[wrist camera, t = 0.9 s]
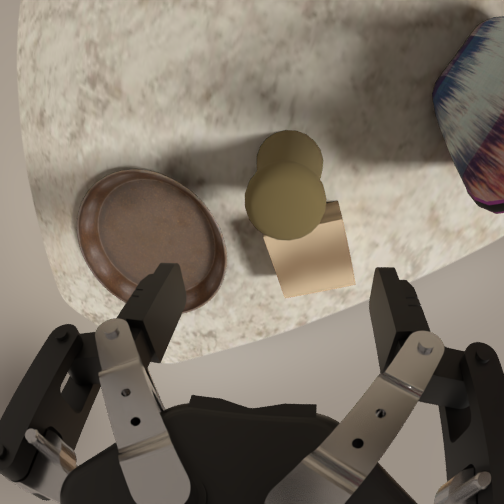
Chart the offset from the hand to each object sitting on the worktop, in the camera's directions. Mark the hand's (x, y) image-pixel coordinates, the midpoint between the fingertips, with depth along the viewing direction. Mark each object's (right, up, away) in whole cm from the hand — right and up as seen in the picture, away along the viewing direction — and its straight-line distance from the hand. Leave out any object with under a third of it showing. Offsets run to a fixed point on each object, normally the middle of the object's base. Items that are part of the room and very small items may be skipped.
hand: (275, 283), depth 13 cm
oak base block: (+5, +3, +19) cm, 20 cm away
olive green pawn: (+3, +9, +15) cm, 18 cm away
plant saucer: (-12, +3, +22) cm, 25 cm away
